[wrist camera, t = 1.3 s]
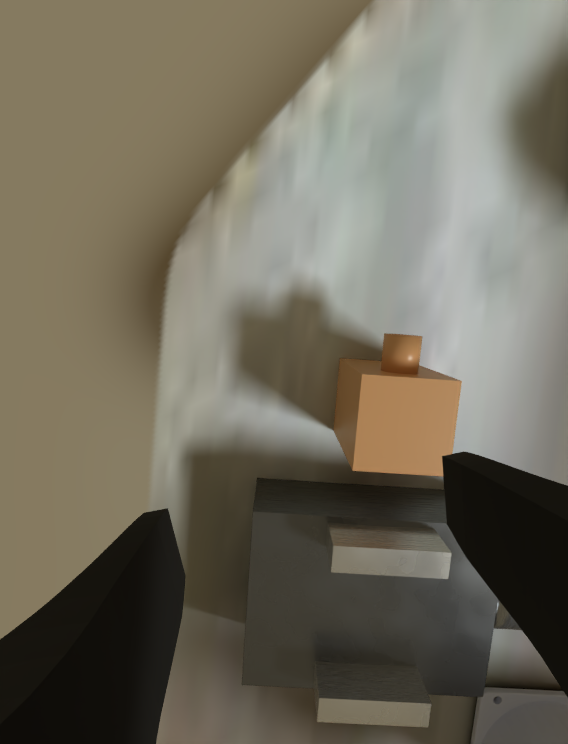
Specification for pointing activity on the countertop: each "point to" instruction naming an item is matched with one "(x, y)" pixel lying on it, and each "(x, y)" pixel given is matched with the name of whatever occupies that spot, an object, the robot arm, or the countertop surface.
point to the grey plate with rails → (364, 601)
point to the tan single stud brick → (395, 411)
